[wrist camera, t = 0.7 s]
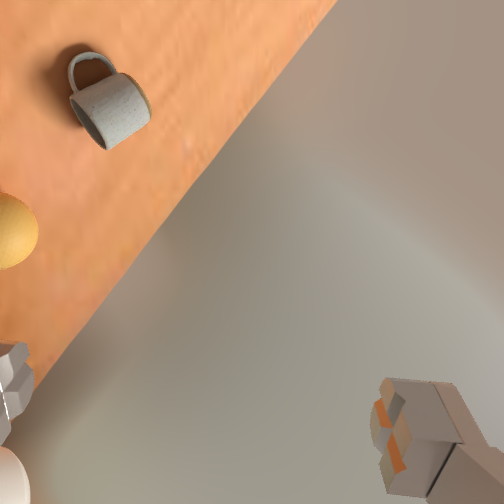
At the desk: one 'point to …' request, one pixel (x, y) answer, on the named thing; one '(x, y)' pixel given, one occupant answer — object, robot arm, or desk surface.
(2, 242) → the stress ball
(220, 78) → the desk surface
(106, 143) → the ceramic mug
